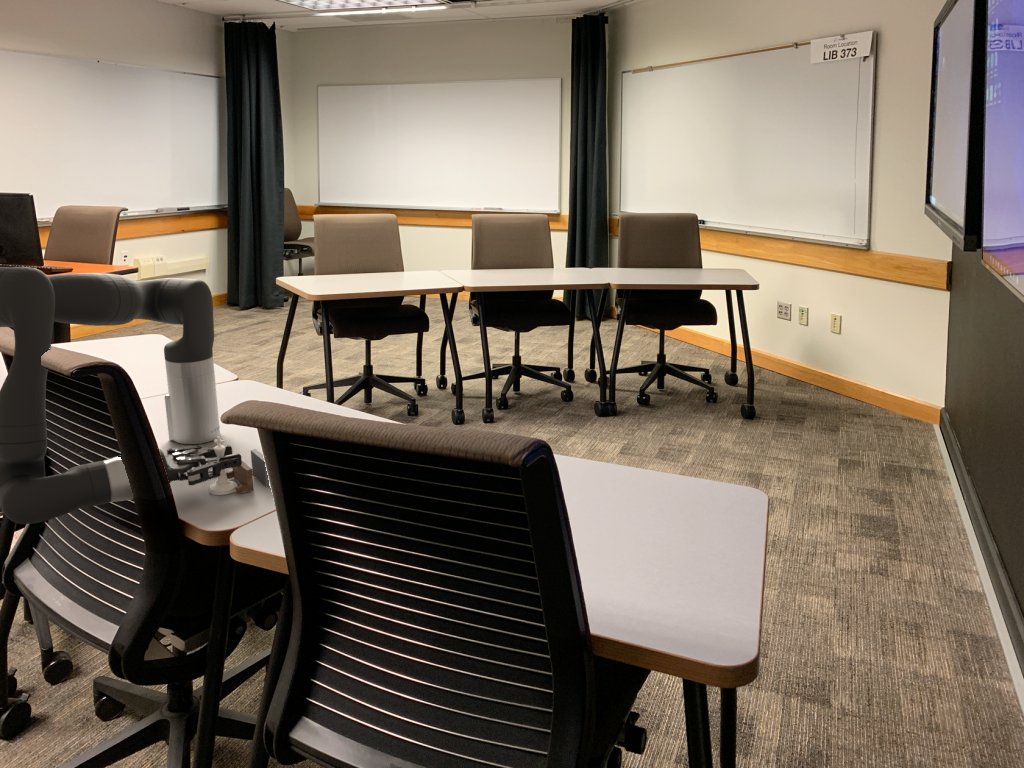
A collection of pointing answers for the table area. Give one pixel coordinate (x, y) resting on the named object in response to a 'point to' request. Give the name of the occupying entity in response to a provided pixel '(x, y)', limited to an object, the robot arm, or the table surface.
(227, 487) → the chess piece
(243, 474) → the sliding block
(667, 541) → the table surface
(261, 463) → the backstop wall
